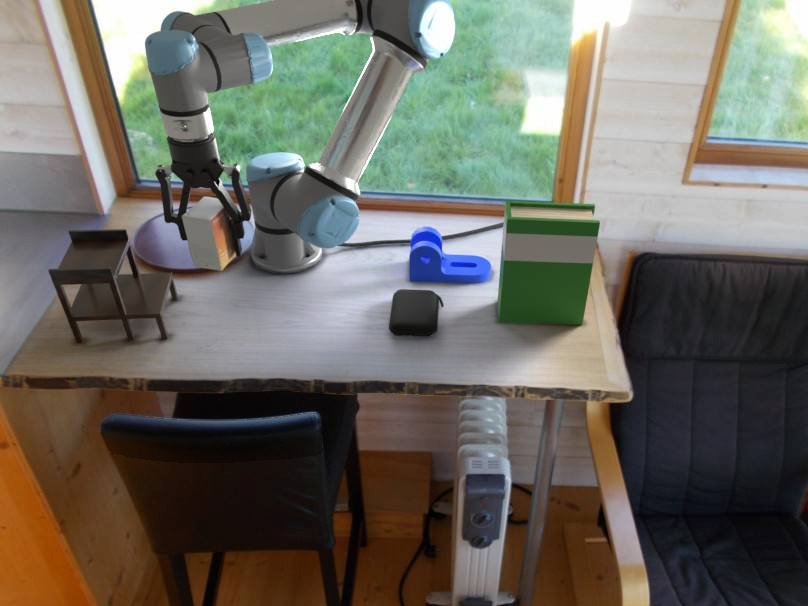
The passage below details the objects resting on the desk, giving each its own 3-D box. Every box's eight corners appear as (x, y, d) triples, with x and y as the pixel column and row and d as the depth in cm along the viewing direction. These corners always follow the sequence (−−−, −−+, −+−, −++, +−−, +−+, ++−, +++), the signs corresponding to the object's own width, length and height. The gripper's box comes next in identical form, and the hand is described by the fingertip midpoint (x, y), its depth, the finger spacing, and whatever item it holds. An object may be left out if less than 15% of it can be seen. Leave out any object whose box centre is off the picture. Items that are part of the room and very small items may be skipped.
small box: (222, 272, 135) (210, 220, 128) (193, 267, 135) (180, 215, 128) (242, 250, 141) (232, 199, 134) (214, 245, 141) (203, 195, 134)
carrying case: (442, 341, 148) (443, 299, 159) (442, 329, 146) (444, 287, 157) (388, 339, 147) (393, 297, 158) (387, 327, 145) (393, 285, 156)
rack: (178, 297, 152) (160, 228, 141) (167, 339, 142) (146, 267, 131) (94, 300, 149) (69, 230, 138) (76, 343, 139) (48, 270, 128)
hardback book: (578, 304, 161) (594, 204, 145) (582, 324, 156) (600, 222, 140) (497, 301, 159) (505, 200, 144) (499, 322, 154) (507, 219, 138)
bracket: (409, 280, 163) (409, 245, 157) (411, 260, 169) (411, 225, 163) (491, 283, 165) (493, 248, 159) (489, 263, 171) (492, 229, 165)
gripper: (120, 143, 118) (156, 266, 133) (251, 142, 121) (271, 262, 136) (129, 124, 123) (163, 244, 138) (255, 124, 127) (274, 241, 142)
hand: (217, 253), depth 137 cm, fingers closed on small box, 7 cm apart
